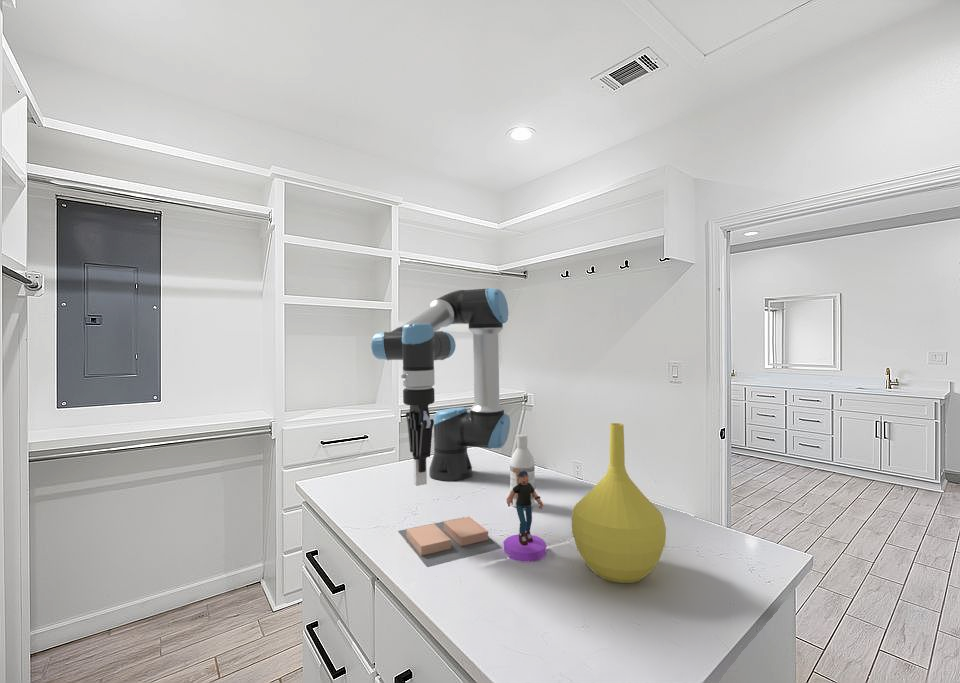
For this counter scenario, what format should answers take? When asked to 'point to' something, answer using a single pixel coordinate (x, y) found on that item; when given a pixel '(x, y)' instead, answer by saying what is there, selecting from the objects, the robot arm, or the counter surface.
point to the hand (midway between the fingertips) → (420, 484)
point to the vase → (618, 523)
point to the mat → (453, 549)
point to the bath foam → (522, 466)
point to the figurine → (524, 525)
